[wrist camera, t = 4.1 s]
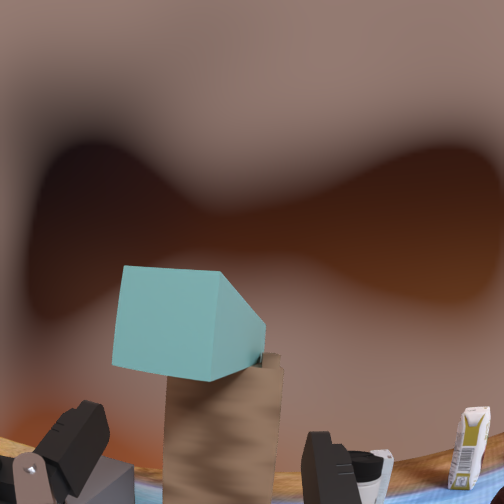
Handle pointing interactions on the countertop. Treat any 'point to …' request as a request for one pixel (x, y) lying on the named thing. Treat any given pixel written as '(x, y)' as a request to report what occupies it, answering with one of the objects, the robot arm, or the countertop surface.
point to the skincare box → (384, 473)
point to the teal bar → (184, 324)
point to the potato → (499, 497)
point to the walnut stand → (223, 436)
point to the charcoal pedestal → (108, 484)
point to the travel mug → (367, 474)
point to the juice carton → (469, 448)
